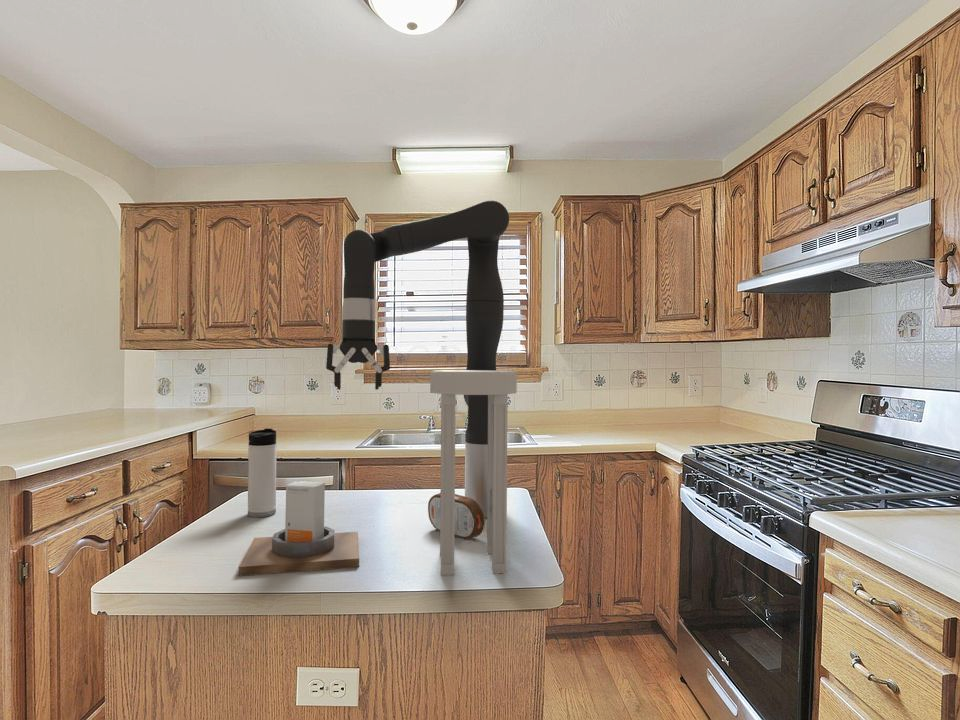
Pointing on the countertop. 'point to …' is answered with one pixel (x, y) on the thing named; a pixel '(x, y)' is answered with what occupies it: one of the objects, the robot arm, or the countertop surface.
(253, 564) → the walnut base
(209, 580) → the countertop surface
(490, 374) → the stool
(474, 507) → the tin
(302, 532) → the skincare box
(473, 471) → the robot arm
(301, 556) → the ring collar
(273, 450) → the travel mug
